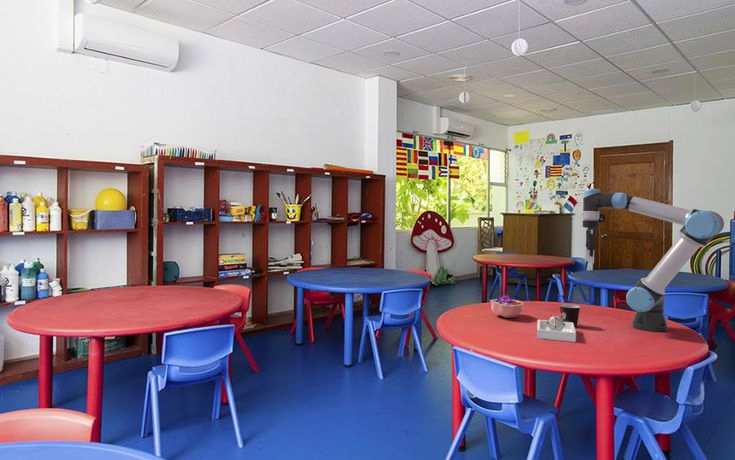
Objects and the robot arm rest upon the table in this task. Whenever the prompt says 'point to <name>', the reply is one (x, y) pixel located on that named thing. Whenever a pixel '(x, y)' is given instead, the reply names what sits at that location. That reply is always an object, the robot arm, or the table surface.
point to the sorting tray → (556, 332)
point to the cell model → (506, 306)
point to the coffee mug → (570, 313)
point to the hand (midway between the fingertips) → (589, 261)
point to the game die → (556, 323)
